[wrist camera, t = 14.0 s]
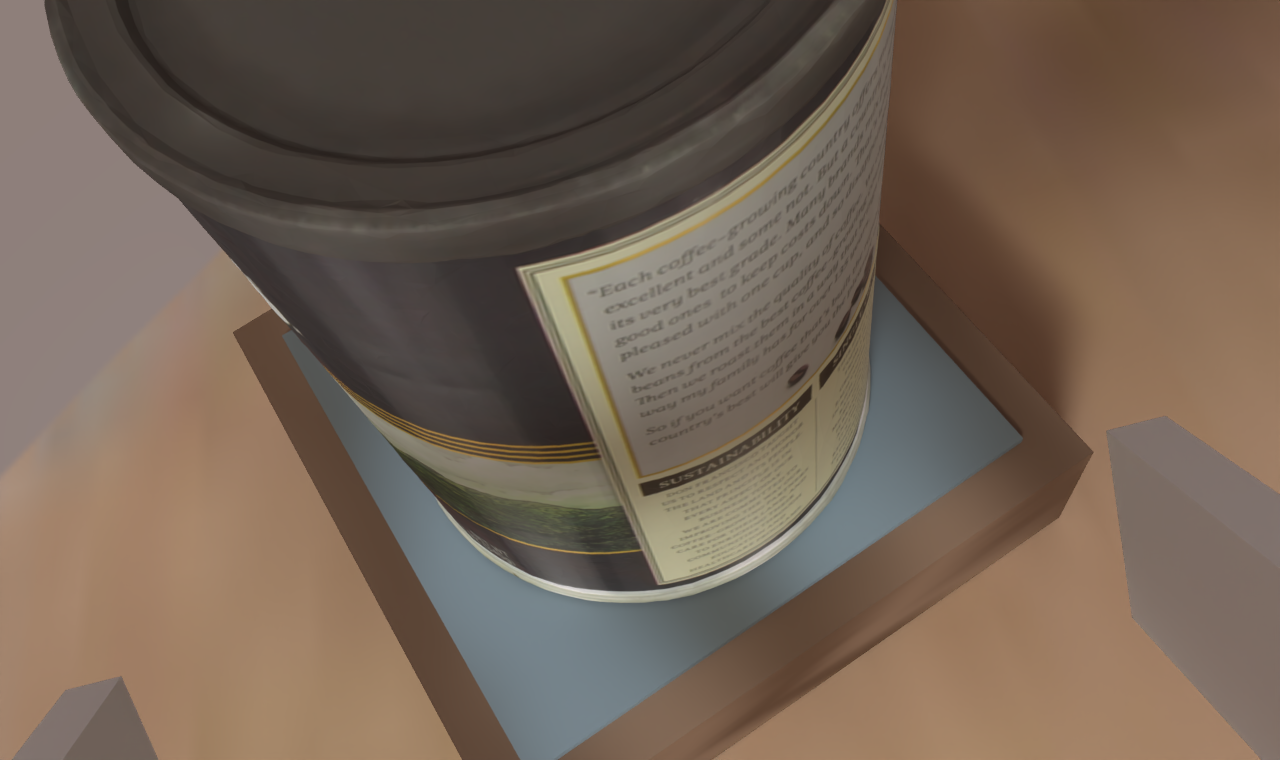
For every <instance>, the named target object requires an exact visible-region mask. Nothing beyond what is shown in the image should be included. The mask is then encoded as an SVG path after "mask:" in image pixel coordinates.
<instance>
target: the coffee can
mask: <svg viewBox="0 0 1280 760" xmlns="http://www.w3.org/2000/svg"><path fill="white" fill-rule="evenodd" d="M896 9H897V0H45V10H46V14H47V20H48V24H49V29H50V33H51V37H52V40H53V43H54V46H55V49H56V52H57V55H58V57H59V60H60V63H61V65H62V67H63V70H64V72H65V74H66V76H67V79H68V81H69V83H70V84H71V86H72V88H73V89H74V91H75V93H76V94H77V96H78V98H79V99H80V100H81V102H82V103H83V104H84V106H85V107H86V108H87V110H88V111H89V112H90V114H91V115H92V116H93V117H94V119H95V120H96V121H97V122H98V123H99V124H100V126H101V127H102V128H103V129H104V130H105V132H106V133H107V134H108V135H109V136H110V138H111V139H112V140H113V141H114V142H115V143H116V144H117V145H118V146H119V147H120V148H121V149H122V150H123V152H124V153H125V154H126V155H127V156H128V157H129V158H130V159H131V160H132V161H133V163H135V164H136V165H137V166H138V167H139V168H141V169H142V170H143V171H144V172H145V173H146V174H148V175H149V176H150V177H151V178H152V179H153V180H155V181H156V182H157V183H158V184H160V185H161V186H162V187H164V188H165V189H166V190H168V191H169V192H170V193H172V194H173V195H174V196H176V197H177V198H178V199H179V200H180V201H181V202H182V203H183V205H184V206H185V207H186V208H187V209H188V210H189V212H190V213H191V214H192V215H193V216H194V217H195V218H196V220H197V221H198V222H199V223H200V224H201V225H202V226H203V228H204V229H205V230H206V231H207V232H208V233H209V235H210V236H211V237H212V238H213V239H214V240H215V241H216V242H217V244H218V245H219V246H220V247H221V248H222V249H223V250H224V251H225V253H226V254H227V255H228V256H229V257H230V259H231V260H232V262H233V263H234V264H235V265H236V266H237V267H238V268H239V269H240V270H241V271H242V272H243V273H244V275H245V276H246V277H247V278H248V280H249V281H250V282H251V284H252V285H253V286H254V287H255V289H256V290H257V291H258V292H259V293H260V294H261V295H262V296H263V298H264V299H265V300H266V301H267V303H268V304H269V305H270V307H271V308H272V309H273V310H274V312H275V313H276V314H277V315H278V316H279V317H280V318H281V319H282V320H283V321H284V322H285V323H286V324H287V326H288V327H289V328H290V329H291V330H292V331H293V332H294V333H295V334H296V335H297V337H298V338H299V339H300V341H301V342H302V343H303V344H304V345H305V346H306V347H307V348H308V349H309V350H310V351H311V353H312V354H313V355H314V356H315V357H316V358H317V359H318V361H319V362H320V363H321V364H322V365H323V367H324V368H325V369H326V370H327V371H328V372H329V374H330V375H331V376H332V377H333V378H334V379H335V381H336V382H337V383H338V384H339V385H340V386H341V387H342V389H343V390H344V391H345V392H346V393H347V394H348V395H349V397H350V398H351V399H352V400H353V401H354V402H355V404H356V405H357V406H358V407H359V408H360V410H361V411H362V412H363V413H364V414H365V415H366V417H367V418H368V419H369V420H370V421H371V423H372V424H373V425H374V426H375V427H376V428H377V430H378V431H379V432H380V433H381V434H382V436H383V437H384V438H385V439H386V440H387V441H388V443H389V444H390V445H391V446H392V447H393V448H394V450H395V451H396V452H397V453H398V455H399V456H400V457H401V458H402V460H403V461H404V462H405V463H406V464H407V465H408V466H409V467H410V468H411V470H412V471H413V472H414V473H415V474H416V475H417V476H418V478H419V479H420V480H421V481H422V482H423V484H424V485H425V486H426V487H427V488H428V489H429V490H430V491H431V492H432V493H433V495H434V496H435V498H436V500H437V502H438V504H439V505H440V507H441V508H442V510H443V511H444V513H445V514H446V516H447V517H448V518H449V520H450V521H451V522H452V523H453V525H454V526H455V527H456V528H457V529H458V530H459V532H460V533H461V534H462V535H463V536H464V537H465V538H466V539H467V540H468V541H469V542H470V543H471V544H472V545H473V546H474V547H475V548H476V549H477V550H478V551H480V552H481V553H482V554H483V555H484V556H485V557H486V558H487V559H489V560H490V561H492V562H493V563H495V564H496V565H498V566H499V567H501V568H502V569H504V570H505V571H507V572H509V573H511V574H513V575H515V576H517V577H518V578H520V579H522V580H524V581H526V582H529V583H531V584H533V585H535V586H538V587H540V588H543V589H545V590H548V591H551V592H555V593H558V594H562V595H566V596H570V597H575V598H579V599H584V600H590V601H599V602H613V603H647V602H654V601H666V600H671V599H676V598H682V597H686V596H690V595H694V594H697V593H700V592H703V591H706V590H708V589H711V588H714V587H717V586H719V585H722V584H724V583H727V582H729V581H732V580H734V579H736V578H738V577H740V576H742V575H744V574H746V573H747V572H749V571H751V570H753V569H754V568H756V567H758V566H760V565H761V564H763V563H764V562H766V561H767V560H769V559H771V558H772V557H774V556H775V555H776V554H777V553H779V552H780V551H781V550H783V549H784V548H785V547H786V546H788V545H789V544H790V543H791V542H792V541H793V540H795V539H796V538H797V537H798V536H799V535H800V534H801V533H802V532H803V531H804V530H805V529H806V528H807V527H808V526H809V525H810V524H811V523H812V522H813V521H814V520H815V519H816V518H817V516H818V515H819V514H820V513H821V512H822V511H823V510H824V508H825V507H826V506H827V505H828V504H829V503H830V502H831V501H832V499H833V497H834V496H835V494H836V492H837V491H838V489H839V487H840V486H841V484H842V483H843V480H844V478H845V476H846V474H847V472H848V469H849V467H850V465H851V463H852V461H853V459H854V457H855V455H856V453H857V450H858V447H859V445H860V441H861V438H862V434H863V430H864V426H865V422H866V417H867V414H868V411H869V400H870V360H869V347H870V334H871V321H872V307H873V294H874V282H875V269H876V257H877V249H878V239H879V216H880V203H881V190H882V179H883V168H884V157H885V145H886V131H887V117H888V107H889V98H890V88H891V74H892V60H893V47H894V34H895V21H896Z"/></svg>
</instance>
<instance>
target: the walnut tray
mask: <svg viewBox="0 0 1280 760" xmlns="http://www.w3.org/2000/svg"><path fill="white" fill-rule="evenodd" d="M233 334H234V336H235V338H236V339H237V341H238V343H239V345H240V347H241V349H242V351H243V352H244V354H245V356H246V358H247V360H248V362H249V364H250V365H251V367H252V369H253V371H254V373H255V375H256V377H257V378H258V380H259V382H260V384H261V386H262V388H263V390H264V392H265V393H266V395H267V397H268V399H269V401H270V403H271V405H272V406H273V408H274V410H275V412H276V414H277V416H278V418H279V419H280V421H281V423H282V425H283V427H284V429H285V431H286V432H287V434H288V436H289V438H290V440H291V442H292V444H293V446H294V447H295V449H296V451H297V453H298V455H299V457H300V459H301V460H302V462H303V464H304V466H305V468H306V470H307V472H308V473H309V475H310V477H311V479H312V481H313V483H314V485H315V486H316V488H317V490H318V492H319V494H320V496H321V498H322V500H323V501H324V503H325V505H326V507H327V509H328V511H329V513H330V514H331V516H332V518H333V520H334V522H335V524H336V526H337V527H338V529H339V531H340V533H341V535H342V537H343V539H344V540H345V542H346V544H347V546H348V548H349V550H350V552H351V553H352V555H353V557H354V559H355V561H356V563H357V565H358V567H359V568H360V570H361V572H362V574H363V576H364V578H365V580H366V581H367V583H368V585H369V587H370V589H371V591H372V593H373V594H374V596H375V598H376V600H377V602H378V604H379V606H380V607H381V609H382V611H383V613H384V615H385V617H386V619H387V621H388V622H389V624H390V626H391V628H392V630H393V632H394V634H395V635H396V637H397V639H398V641H399V643H400V645H401V647H402V648H403V650H404V652H405V654H406V656H407V658H408V660H409V661H410V663H411V665H412V667H413V669H414V671H415V673H416V675H417V676H418V678H419V680H420V682H421V684H422V686H423V688H424V689H425V691H426V693H427V695H428V697H429V699H430V701H431V702H432V704H433V706H434V708H435V710H436V712H437V714H438V715H439V717H440V719H441V721H442V723H443V725H444V727H445V729H446V730H447V732H448V734H449V736H450V738H451V740H452V742H453V743H454V745H455V747H456V749H457V751H458V753H459V755H460V756H461V758H462V760H712V759H713V758H715V757H716V756H718V755H719V754H721V753H722V752H723V751H725V750H726V749H728V748H729V747H731V746H732V745H733V744H735V743H736V742H738V741H739V740H741V739H742V738H743V737H745V736H746V735H748V734H749V733H751V732H752V731H754V730H755V729H756V728H758V727H759V726H761V725H762V724H764V723H765V722H766V721H768V720H769V719H771V718H772V717H774V716H775V715H776V714H778V713H779V712H781V711H782V710H784V709H785V708H786V707H788V706H789V705H791V704H792V703H794V702H795V701H796V700H798V699H799V698H801V697H802V696H804V695H805V694H807V693H808V692H809V691H811V690H812V689H814V688H815V687H817V686H818V685H819V684H821V683H822V682H824V681H825V680H827V679H828V678H829V677H831V676H832V675H834V674H835V673H837V672H838V671H839V670H841V669H842V668H844V667H845V666H847V665H848V664H849V663H851V662H852V661H854V660H855V659H857V658H858V657H859V656H861V655H862V654H864V653H865V652H867V651H868V650H870V649H871V648H872V647H874V646H875V645H877V644H878V643H880V642H881V641H882V640H884V639H885V638H887V637H888V636H890V635H891V634H892V633H894V632H895V631H897V630H898V629H900V628H901V627H902V626H904V625H905V624H907V623H908V622H910V621H911V620H912V619H914V618H915V617H917V616H918V615H920V614H921V613H923V612H924V611H925V610H927V609H928V608H930V607H931V606H933V605H934V604H935V603H937V602H938V601H940V600H941V599H943V598H944V597H945V596H947V595H948V594H950V593H951V592H953V591H954V590H955V589H957V588H958V587H960V586H961V585H963V584H964V583H965V582H967V581H968V580H970V579H971V578H973V577H974V576H975V575H977V574H978V573H980V572H981V571H983V570H984V569H986V568H987V567H988V566H990V565H991V564H993V563H994V562H996V561H997V560H998V559H1000V558H1001V557H1003V556H1004V555H1006V554H1007V553H1008V552H1010V551H1011V550H1013V549H1014V548H1016V547H1017V546H1018V545H1020V544H1021V543H1023V542H1024V541H1026V540H1027V539H1028V538H1030V537H1031V536H1033V535H1034V534H1036V533H1037V532H1039V531H1040V530H1041V529H1043V528H1044V527H1046V526H1047V525H1049V524H1050V523H1051V522H1053V521H1054V520H1056V519H1057V518H1059V516H1060V515H1061V513H1062V511H1063V509H1064V507H1065V505H1066V503H1067V501H1068V499H1069V497H1070V496H1071V494H1072V492H1073V490H1074V488H1075V486H1076V484H1077V482H1078V480H1079V479H1080V477H1081V475H1082V473H1083V471H1084V469H1085V467H1086V465H1087V463H1088V461H1089V460H1090V458H1091V456H1092V454H1093V451H1092V450H1091V449H1090V448H1089V447H1088V446H1087V444H1086V443H1085V442H1084V441H1083V440H1082V439H1081V438H1080V437H1079V436H1078V435H1077V434H1076V433H1075V432H1074V431H1073V430H1072V428H1071V427H1070V426H1069V425H1068V424H1067V423H1066V422H1065V421H1064V420H1063V419H1062V418H1061V417H1060V416H1059V415H1058V414H1057V412H1056V411H1055V410H1054V409H1053V408H1052V407H1051V406H1050V405H1049V404H1048V403H1047V402H1046V401H1045V400H1044V399H1043V398H1042V396H1041V395H1040V394H1039V393H1038V392H1037V391H1036V390H1035V389H1034V388H1033V387H1032V386H1031V385H1030V384H1029V383H1028V382H1027V380H1026V379H1025V378H1024V377H1023V376H1022V375H1021V374H1020V373H1019V372H1018V371H1017V370H1016V369H1015V368H1014V367H1013V366H1012V364H1011V363H1010V362H1009V361H1008V360H1007V359H1006V358H1005V357H1004V356H1003V355H1002V354H1001V353H1000V352H999V351H998V350H997V348H996V347H995V346H994V345H993V344H992V343H991V342H990V341H989V340H988V339H987V338H986V337H985V336H984V335H983V334H982V332H981V331H980V330H979V329H978V328H977V327H976V326H975V325H974V324H973V323H972V322H971V321H970V320H969V319H968V318H967V316H966V315H965V314H964V313H963V312H962V311H961V310H960V309H959V308H958V307H957V306H956V305H955V304H954V303H953V302H952V300H951V299H950V298H949V297H948V296H947V295H946V294H945V293H944V292H943V291H942V290H941V289H940V288H939V287H938V285H937V284H936V283H935V282H934V281H933V280H932V279H931V278H930V277H929V276H928V275H927V274H926V273H925V272H924V271H923V269H922V268H921V267H920V266H919V265H918V264H917V263H916V262H915V261H914V260H913V259H912V258H911V257H910V256H909V255H908V253H907V252H906V251H905V250H904V249H903V248H902V247H901V246H900V245H899V244H898V243H897V242H896V241H895V240H894V239H893V237H892V236H891V235H890V234H889V233H888V232H887V231H886V230H885V229H884V228H883V227H882V226H881V225H880V224H879V239H878V249H877V257H876V269H875V282H874V294H873V307H872V321H871V334H870V347H869V360H870V400H869V411H868V414H867V417H866V422H865V426H864V430H863V434H862V438H861V441H860V445H859V447H858V450H857V453H856V455H855V457H854V459H853V461H852V463H851V465H850V467H849V469H848V472H847V474H846V476H845V478H844V480H843V483H842V484H841V486H840V487H839V489H838V491H837V492H836V494H835V496H834V497H833V499H832V501H831V502H830V503H829V504H828V505H827V506H826V507H825V508H824V510H823V511H822V512H821V513H820V514H819V515H818V516H817V518H816V519H815V520H814V521H813V522H812V523H811V524H810V525H809V526H808V527H807V528H806V529H805V530H804V531H803V532H802V533H801V534H800V535H799V536H798V537H797V538H796V539H795V540H793V541H792V542H791V543H790V544H789V545H788V546H786V547H785V548H784V549H783V550H781V551H780V552H779V553H777V554H776V555H775V556H774V557H772V558H771V559H769V560H767V561H766V562H764V563H763V564H761V565H760V566H758V567H756V568H754V569H753V570H751V571H749V572H747V573H746V574H744V575H742V576H740V577H738V578H736V579H734V580H732V581H729V582H727V583H724V584H722V585H719V586H717V587H714V588H711V589H708V590H706V591H703V592H700V593H697V594H694V595H690V596H686V597H682V598H676V599H671V600H666V601H654V602H647V603H613V602H599V601H590V600H584V599H579V598H575V597H570V596H566V595H562V594H558V593H555V592H551V591H548V590H545V589H543V588H540V587H538V586H535V585H533V584H531V583H529V582H526V581H524V580H522V579H520V578H518V577H517V576H515V575H513V574H511V573H509V572H507V571H505V570H504V569H502V568H501V567H499V566H498V565H496V564H495V563H493V562H492V561H490V560H489V559H487V558H486V557H485V556H484V555H483V554H482V553H481V552H480V551H478V550H477V549H476V548H475V547H474V546H473V545H472V544H471V543H470V542H469V541H468V540H467V539H466V538H465V537H464V536H463V535H462V534H461V533H460V532H459V530H458V529H457V528H456V527H455V526H454V525H453V523H452V522H451V521H450V520H449V518H448V517H447V516H446V514H445V513H444V511H443V510H442V508H441V507H440V505H439V504H438V502H437V500H436V498H435V496H434V495H433V493H432V492H431V491H430V490H429V489H428V488H427V487H426V486H425V485H424V484H423V482H422V481H421V480H420V479H419V478H418V476H417V475H416V474H415V473H414V472H413V471H412V470H411V468H410V467H409V466H408V465H407V464H406V463H405V462H404V461H403V460H402V458H401V457H400V456H399V455H398V453H397V452H396V451H395V450H394V448H393V447H392V446H391V445H390V444H389V443H388V441H387V440H386V439H385V438H384V437H383V436H382V434H381V433H380V432H379V431H378V430H377V428H376V427H375V426H374V425H373V424H372V423H371V421H370V420H369V419H368V418H367V417H366V415H365V414H364V413H363V412H362V411H361V410H360V408H359V407H358V406H357V405H356V404H355V402H354V401H353V400H352V399H351V398H350V397H349V395H348V394H347V393H346V392H345V391H344V390H343V389H342V387H341V386H340V385H339V384H338V383H337V382H336V381H335V379H334V378H333V377H332V376H331V375H330V374H329V372H328V371H327V370H326V369H325V368H324V367H323V365H322V364H321V363H320V362H319V361H318V359H317V358H316V357H315V356H314V355H313V354H312V353H311V351H310V350H309V349H308V348H307V347H306V346H305V345H304V344H303V343H302V342H301V341H300V339H299V338H298V337H297V335H296V334H295V333H294V332H293V331H292V330H291V329H290V328H289V327H288V326H287V324H286V323H285V322H284V321H283V320H282V319H281V318H280V317H279V316H278V315H277V314H276V313H275V312H274V310H273V309H271V310H269V311H267V312H266V313H264V314H262V315H261V316H259V317H257V318H256V319H254V320H252V321H251V322H249V323H247V324H246V325H244V326H242V327H241V328H239V329H237V330H236V331H234V332H233Z"/></svg>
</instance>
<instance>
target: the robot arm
mask: <svg viewBox="0 0 1280 760" xmlns="http://www.w3.org/2000/svg"><path fill="white" fill-rule="evenodd" d="M1106 432H1107V439H1108V447H1109V454H1110V461H1111V468H1112V476H1113V483H1114V490H1115V497H1116V505H1117V512H1118V519H1119V526H1120V534H1121V541H1122V548H1123V555H1124V563H1125V570H1126V577H1127V584H1128V592H1129V599H1130V606H1131V613H1132V618H1133V619H1134V620H1135V621H1136V622H1137V624H1138V625H1139V626H1140V627H1141V628H1142V629H1143V630H1144V631H1145V632H1146V633H1147V635H1148V636H1149V637H1150V638H1151V639H1152V640H1153V641H1154V642H1155V643H1156V644H1157V646H1158V647H1159V648H1160V649H1161V650H1162V651H1163V652H1164V653H1165V654H1166V655H1167V656H1168V658H1169V659H1170V660H1171V661H1172V662H1173V663H1174V664H1175V665H1176V666H1177V667H1178V669H1179V670H1180V671H1181V672H1182V673H1183V674H1184V675H1185V676H1186V677H1187V678H1188V680H1189V681H1190V682H1191V683H1192V684H1193V685H1194V686H1195V687H1196V688H1197V689H1198V691H1199V692H1200V693H1201V694H1202V695H1203V696H1204V697H1205V698H1206V699H1207V700H1208V702H1209V703H1210V704H1211V705H1212V706H1213V707H1214V708H1215V709H1216V710H1217V711H1218V713H1219V714H1220V715H1221V716H1222V717H1223V718H1224V719H1225V720H1226V721H1227V722H1228V724H1229V725H1230V726H1231V727H1232V728H1233V729H1234V730H1235V731H1236V732H1237V733H1238V735H1239V736H1240V737H1241V738H1242V739H1243V740H1244V741H1245V742H1246V743H1247V744H1248V746H1249V747H1250V748H1251V749H1252V750H1253V751H1254V752H1255V753H1256V754H1257V755H1258V757H1259V758H1260V759H1261V760H1280V494H1278V493H1277V492H1275V491H1274V490H1272V489H1271V488H1270V487H1268V486H1267V485H1265V484H1264V483H1262V482H1261V481H1259V480H1258V479H1256V478H1255V477H1254V476H1252V475H1251V474H1249V473H1248V472H1246V471H1245V470H1243V469H1242V468H1240V467H1239V466H1238V465H1236V464H1235V463H1233V462H1232V461H1230V460H1229V459H1227V458H1226V457H1224V456H1223V455H1222V454H1220V453H1219V452H1217V451H1216V450H1214V449H1213V448H1211V447H1210V446H1208V445H1207V444H1206V443H1204V442H1203V441H1201V440H1200V439H1198V438H1197V437H1195V436H1194V435H1192V434H1191V433H1190V432H1188V431H1187V430H1185V429H1184V428H1182V427H1181V426H1179V425H1178V424H1176V423H1175V422H1174V421H1172V420H1171V419H1169V418H1168V417H1166V416H1163V417H1159V418H1155V419H1151V420H1147V421H1143V422H1139V423H1135V424H1131V425H1127V426H1123V427H1119V428H1115V429H1111V430H1107V431H1106ZM12 760H158V758H157V756H156V753H155V751H154V749H153V746H152V744H151V742H150V740H149V737H148V735H147V733H146V731H145V728H144V726H143V724H142V722H141V719H140V717H139V715H138V713H137V710H136V708H135V706H134V704H133V701H132V699H131V697H130V695H129V692H128V690H127V688H126V686H125V683H124V681H123V679H122V677H121V676H120V677H116V678H112V679H108V680H104V681H100V682H96V683H92V684H88V685H84V686H80V687H76V688H72V689H68V690H65V692H64V693H63V694H62V695H61V697H60V698H59V699H58V701H57V702H56V703H55V704H54V706H53V707H52V708H51V710H50V711H49V712H48V714H47V715H46V716H45V717H44V719H43V720H42V721H41V723H40V724H39V725H38V726H37V728H36V729H35V730H34V732H33V733H32V734H31V736H30V737H29V738H28V739H27V741H26V742H25V743H24V745H23V746H22V747H21V748H20V750H19V751H18V752H17V754H16V755H15V756H14V758H13V759H12Z"/></svg>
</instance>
